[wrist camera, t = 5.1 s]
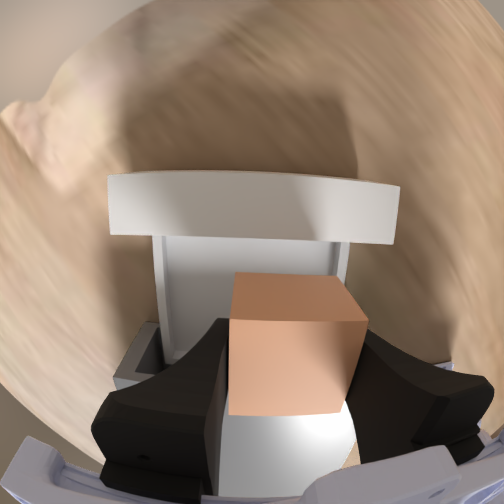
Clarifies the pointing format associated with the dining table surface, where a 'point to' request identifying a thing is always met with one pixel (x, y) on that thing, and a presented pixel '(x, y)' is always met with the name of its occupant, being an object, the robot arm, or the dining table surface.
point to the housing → (256, 435)
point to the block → (292, 344)
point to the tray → (214, 278)
